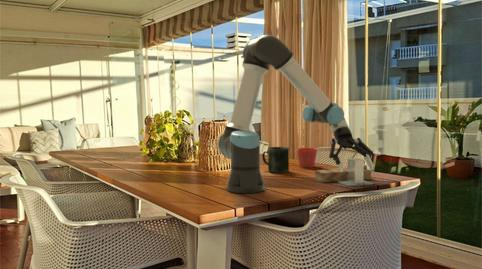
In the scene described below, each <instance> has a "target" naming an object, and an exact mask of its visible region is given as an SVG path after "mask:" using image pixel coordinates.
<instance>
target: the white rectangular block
mask: <svg viewBox="0 0 482 269" xmlns="http://www.w3.org/2000/svg"><path fill="white" fill-rule="evenodd" d="M364 161H365V159H361V158H356V157H354V158H352V157H351V158H350V157H349V158H347V169H348V182H350V183H353V184H363V180H364V179H363V175H364V165H365V162H364Z"/></svg>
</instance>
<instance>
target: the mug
mask: <svg viewBox="0 0 482 269" xmlns="http://www.w3.org/2000/svg"><path fill="white" fill-rule="evenodd" d="M266 149H267V150H266V151H263V153H262V154H261V157H262V161H263V163H264V164H265V165H267V167H268V172H269V173H273V174H274V173H276V174H279V173H281V174H284V173H288V172H289V171H290V170H289V168H290V163H289V162H290V153H289V152H290V151H289V150H290V147H288V146H287V147H286V146H270V147H267V148H266ZM265 154H268V156H267V159H268V161H267V160H266V157H265V156H266V155H265Z"/></svg>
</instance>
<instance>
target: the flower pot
mask: <svg viewBox="0 0 482 269" xmlns="http://www.w3.org/2000/svg"><path fill="white" fill-rule="evenodd" d="M317 152H318V151H317V148H314V147H313V148H312V147H299V148H296V153H297V159H298V163H299V164H298V165H299V167H300V168H314V167H315V165H316V157H317Z"/></svg>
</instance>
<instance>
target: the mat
mask: <svg viewBox="0 0 482 269" xmlns="http://www.w3.org/2000/svg"><path fill="white" fill-rule="evenodd" d="M337 183H338V184H340V185H343V186H345V187H362V186H363V185H365V186H374V185H373V184H374V183H373V182H371V181H367V180H365V179H363V184H353V183H350V182H348V181H337Z"/></svg>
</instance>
